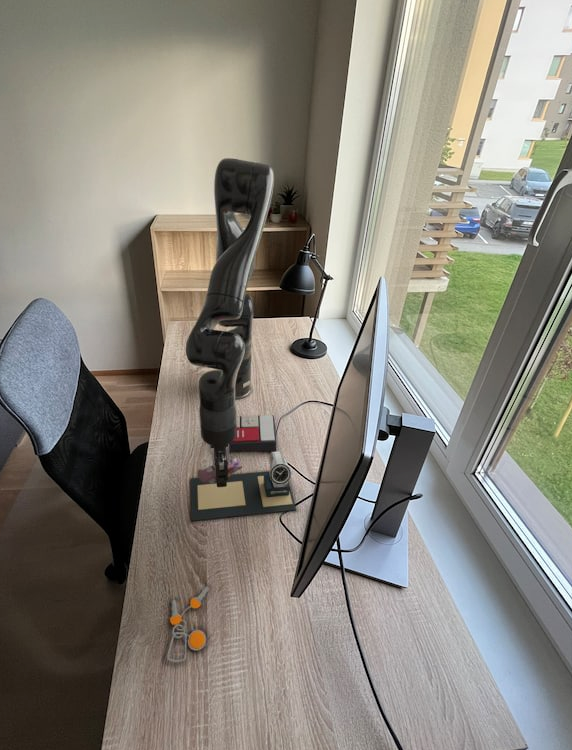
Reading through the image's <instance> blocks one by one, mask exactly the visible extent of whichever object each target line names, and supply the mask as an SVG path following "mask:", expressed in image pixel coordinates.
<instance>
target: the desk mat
mask: <svg viewBox="0 0 572 750" xmlns="http://www.w3.org/2000/svg"><path fill="white" fill-rule="evenodd" d="M269 472H270V470H265V471H257V472H245V473H235V474H234V473H233V474H231V476H230V477H228V481H227V486H226V487H217V482H216V481H215V482H214V483H210V482H207V483H204V482H202V481H201V480H200V479H199V478H198V477H191V479H190V484H191V485H190V486H191V489H190V490H191V491H190V493H191V494H190V495H191V522H199V521H209V520H218V519H227V518H239V517H247V516H259V515H265V514H266V515H267V514H276V513H285V512H295V511H297V507H296V504H295V499H294V496H293V492H292V488H291V487H290V491H289V495H286V496H276V497H266V493H265V488H264V483H263V481H264V474H269ZM289 485H290V483H289ZM290 486H291V485H290Z"/></svg>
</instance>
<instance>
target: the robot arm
mask: <svg viewBox="0 0 572 750" xmlns="http://www.w3.org/2000/svg"><path fill="white" fill-rule="evenodd" d="M213 179H214V181H213V201H214V211H215V223H216V248H215V263H214V265H213V267H212V269H211V272H210V276H209V279H208V280H209V281H208V286H207V290H206V296H205V300H204V304H203V306H202V309H201V310H200V314H199V316H198V317H197V319H196V321H195V324H194V325H193V327H192V329H191V331H190V333H189V335H188V337H187V340H186V343H185V355H186V358H187V360H188V362H189V363H190V364H191V365H193V366H196V367H201V368H206V369H207V368H208V369H211V370H208V371H206V372H203V373H202V374H201V375H200V377H199V380H198V394H199V397H198V398H199V409H198V410H199V426H200V427H199V428H200V437H201V439H202V441H204V443H206V445H209V447H210V454H211V458H212V461H211V462H212V465H213V467H215V472H216V473H215V476H216V478H215V480H216V482H217V487H226V486H227V481H228V465H229V459H230V457H229V453H230V451H229V443H231V442H232V441H233V440H234V439H235V437H236V434H237V416H238V414H237V413H238V412H237V411H238V410H237V404H236V403H237V401H236V400H237V399H244V398H246V397H247V396H249V395H250V393H251V392H252V345H253V344H252V339H253V338H252V337H253V323H254V322H253V321H254V300H253V298H252V296H251V294H249V293H247V290H248V289H247V288H248V284H249V282H250V280H251V279H252V277H253V274H254V270H255V263H256V255H257V251H258V248H259V245H260V242H261V238H262V235H263V232H264V229H265V225H266V221H267V218H268V215H269V211H270V207H271V203H272V199H273V195H274V194H273V193H274V187H275V172H274V170H273V168H272V166H270V165H268V164H265V163H261V162H254V161H249V160H244V159H239V158H231V157H228V158H227V157H225V158H223V159H221V160H220V161H219V162H218V163H217V166H216V169H215V173H214V178H213ZM236 214H240V215H246V216H249V218H248V221H247V223H246V225H245V227H243V225H241V224H240V222H239V220H238V218H237V215H236ZM217 325H218V326H219V327H223V328H230V329H229V330H226V331H225V330H220V329H215V327H216V326H217ZM223 460H224V461H223Z"/></svg>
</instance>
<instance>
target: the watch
mask: <svg viewBox="0 0 572 750" xmlns="http://www.w3.org/2000/svg"><path fill="white" fill-rule="evenodd" d="M269 471H270V472H269V474H264V481H263V483H264V488H265V493H266V497H276V496H286V495H289V491H290V488H291V485H289V484H290V479H291V477H292V475H293V470H292V469H291V468H290V466H289V464H288V462H287V460H286V459H285V457H284V454H283V452H282V451H280V450H279V451H270V457H269Z"/></svg>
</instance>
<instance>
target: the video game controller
mask: <svg viewBox="0 0 572 750" xmlns="http://www.w3.org/2000/svg"><path fill="white" fill-rule="evenodd" d="M224 460H225V459H224ZM224 460H223V461H224ZM242 469H243V464H242V462H241V460H240V459H239V458H238V457H235V456H231V457H229V465H228V477H230V476H231V475H233V474H234V473H236V472H238V471H240V470H242ZM215 473H216V472H215V467H213V464H212V465H210V466H208V467H206V468H204V469H201V468H200V469H197V471H196V474H197V475H196V476H197V478H199V479H200V480H201V481H202V482H204V483H207V482H210V483H214V482H215V481H216V480H215V478H216V476H215Z"/></svg>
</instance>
